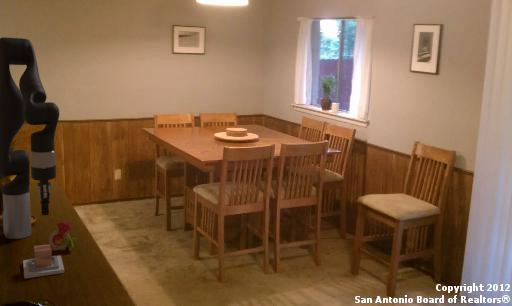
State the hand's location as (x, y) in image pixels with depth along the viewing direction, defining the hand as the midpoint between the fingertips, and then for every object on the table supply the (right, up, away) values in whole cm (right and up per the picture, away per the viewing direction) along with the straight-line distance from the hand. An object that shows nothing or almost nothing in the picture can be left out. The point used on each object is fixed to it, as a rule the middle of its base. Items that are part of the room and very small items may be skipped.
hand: (45, 214), depth 169 cm
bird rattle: (0, -15, +17) cm, 22 cm away
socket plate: (-1, -18, +1) cm, 18 cm away
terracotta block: (-1, -17, +1) cm, 17 cm away
